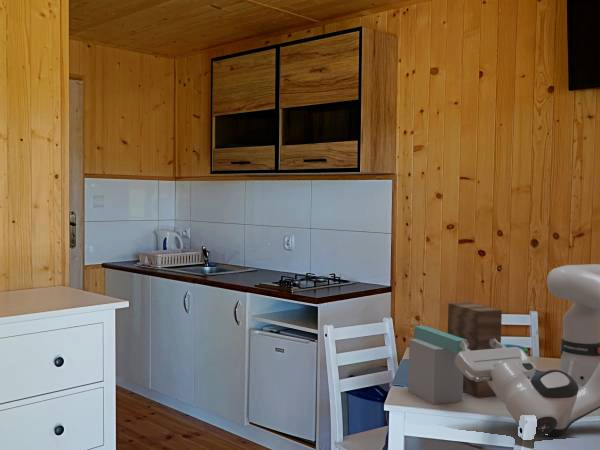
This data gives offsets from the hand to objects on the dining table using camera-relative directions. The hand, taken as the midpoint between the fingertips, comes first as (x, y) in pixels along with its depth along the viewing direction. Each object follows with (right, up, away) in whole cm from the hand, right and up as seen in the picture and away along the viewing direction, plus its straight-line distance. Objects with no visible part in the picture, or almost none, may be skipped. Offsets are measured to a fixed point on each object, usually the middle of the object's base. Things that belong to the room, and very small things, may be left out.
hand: (477, 341), depth 171 cm
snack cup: (+23, -20, +41) cm, 51 cm away
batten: (-7, -4, +16) cm, 18 cm away
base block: (-8, -20, +19) cm, 28 cm away
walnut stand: (+6, -20, +26) cm, 33 cm away
